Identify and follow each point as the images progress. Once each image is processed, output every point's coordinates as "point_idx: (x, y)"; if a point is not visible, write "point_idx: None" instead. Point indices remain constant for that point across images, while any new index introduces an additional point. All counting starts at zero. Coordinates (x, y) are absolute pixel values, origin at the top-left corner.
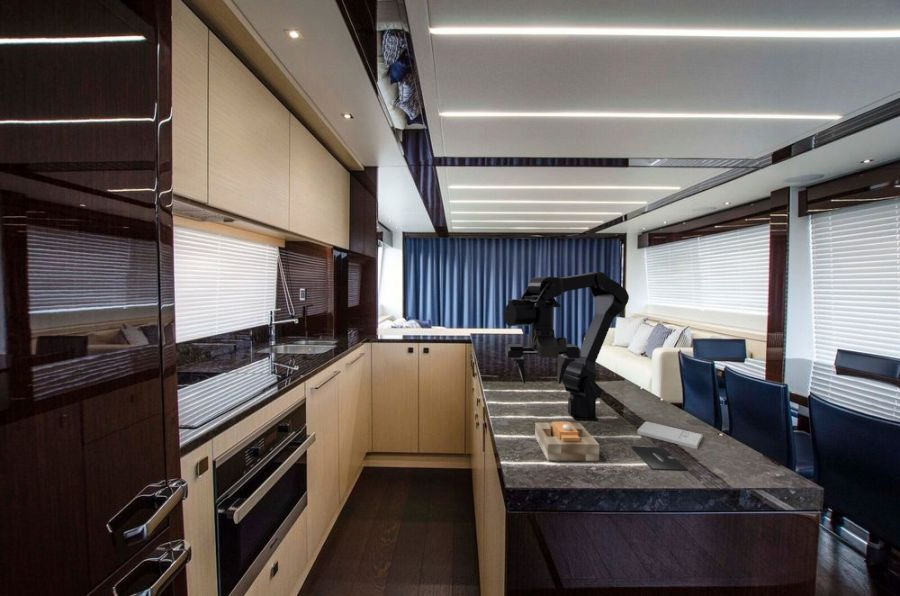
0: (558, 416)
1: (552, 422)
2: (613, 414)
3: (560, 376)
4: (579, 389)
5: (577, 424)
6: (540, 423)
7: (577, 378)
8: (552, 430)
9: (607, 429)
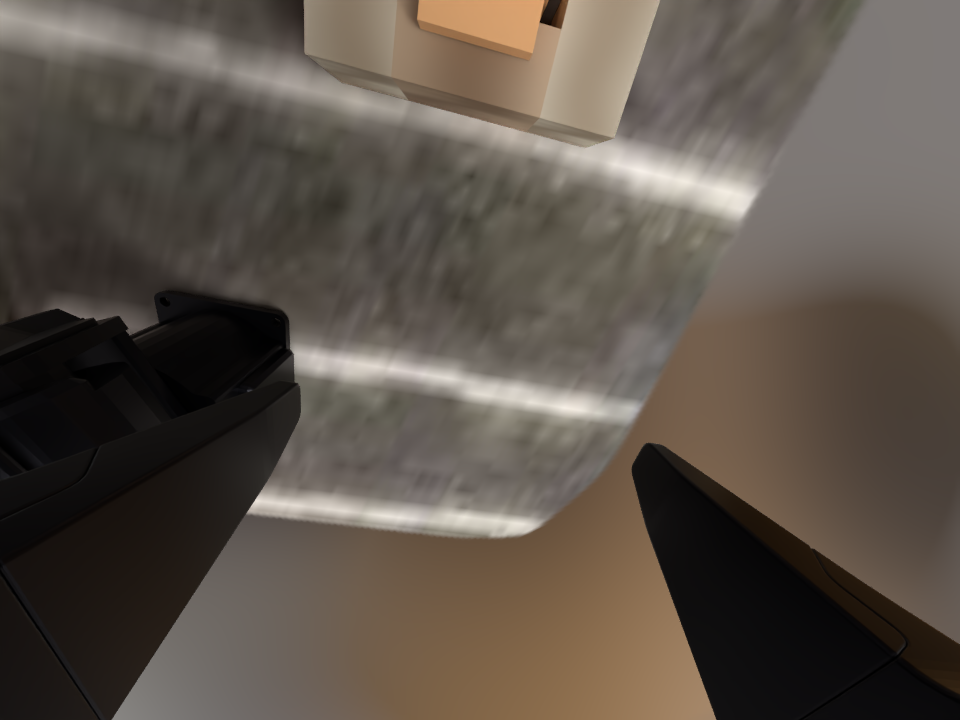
0: (353, 371)
1: (535, 30)
2: None
3: (231, 417)
4: (119, 369)
5: (333, 19)
6: (590, 110)
7: (24, 440)
8: None
9: (138, 160)
